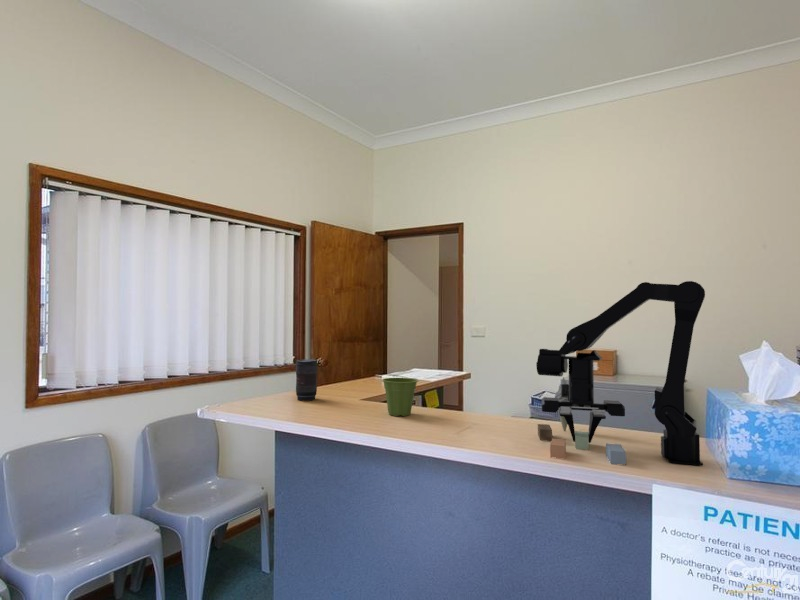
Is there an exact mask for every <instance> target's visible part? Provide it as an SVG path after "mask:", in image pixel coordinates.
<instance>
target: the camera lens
mask: <svg viewBox="0 0 800 600" xmlns="http://www.w3.org/2000/svg"><path fill="white" fill-rule="evenodd" d="M295 375H296V381H295V383H296V384H295V394H296V396H297V397H296V399H297V401H302V400H309V401H314V400H316V395H317V390H318V388H317V387H318V383H317V382H318V361H317V359H307V358H306V359H297V360H296V362H295Z"/></svg>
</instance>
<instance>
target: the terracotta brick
mask: <svg viewBox="0 0 800 600" xmlns="http://www.w3.org/2000/svg"><path fill="white" fill-rule="evenodd" d="M566 442H567V441H566V439H562V438H553V437H552V441H550V444H549V445H550V447H549V452H550V453H549V455H550V458H552V457H556V458H555V459H560V458H566V454H567V453H566V451H567V446H566V445H567V443H566Z"/></svg>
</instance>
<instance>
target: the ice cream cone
mask: <svg viewBox="0 0 800 600" xmlns="http://www.w3.org/2000/svg"><path fill="white" fill-rule="evenodd" d="M561 384H567V382H566V379H565V377H564V376H562V380H561V382H560V384H559V386H558V390H557V391H556V392H555V393H554V394H555V395H554V398H558V401H561V402H569V401H568V398H567V397H561ZM557 413H558V415H559V410H558V411H557ZM559 420H560V423H561V427H562V429H563V432H566V430H567V427H568V424H567V422H566V420H565V417H562V416H560V415H559Z"/></svg>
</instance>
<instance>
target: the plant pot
mask: <svg viewBox="0 0 800 600" xmlns="http://www.w3.org/2000/svg"><path fill="white" fill-rule="evenodd" d="M381 381H382V382H383V387H384V389H385V390H384V391H385V398H386V405H387V413H388V415H389V416H394V417H399V416H403V417H407V416H410V415H411V413H412V408H413V401H414V397H415V396H414V395H415V390H416V388H417V387H416V386H417V383H418V382H419V379H416V378H411V377H386V378H382V379H381Z"/></svg>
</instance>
